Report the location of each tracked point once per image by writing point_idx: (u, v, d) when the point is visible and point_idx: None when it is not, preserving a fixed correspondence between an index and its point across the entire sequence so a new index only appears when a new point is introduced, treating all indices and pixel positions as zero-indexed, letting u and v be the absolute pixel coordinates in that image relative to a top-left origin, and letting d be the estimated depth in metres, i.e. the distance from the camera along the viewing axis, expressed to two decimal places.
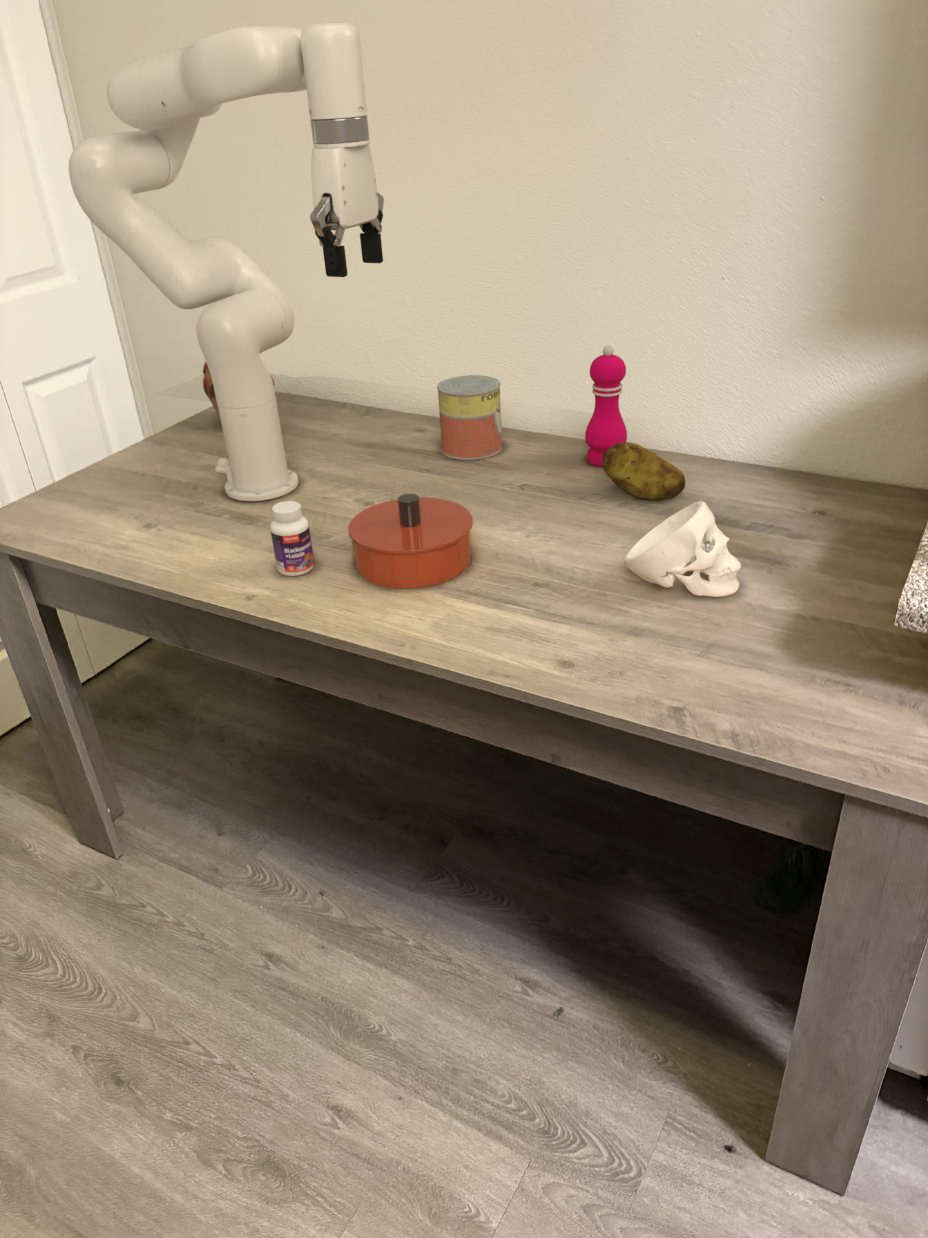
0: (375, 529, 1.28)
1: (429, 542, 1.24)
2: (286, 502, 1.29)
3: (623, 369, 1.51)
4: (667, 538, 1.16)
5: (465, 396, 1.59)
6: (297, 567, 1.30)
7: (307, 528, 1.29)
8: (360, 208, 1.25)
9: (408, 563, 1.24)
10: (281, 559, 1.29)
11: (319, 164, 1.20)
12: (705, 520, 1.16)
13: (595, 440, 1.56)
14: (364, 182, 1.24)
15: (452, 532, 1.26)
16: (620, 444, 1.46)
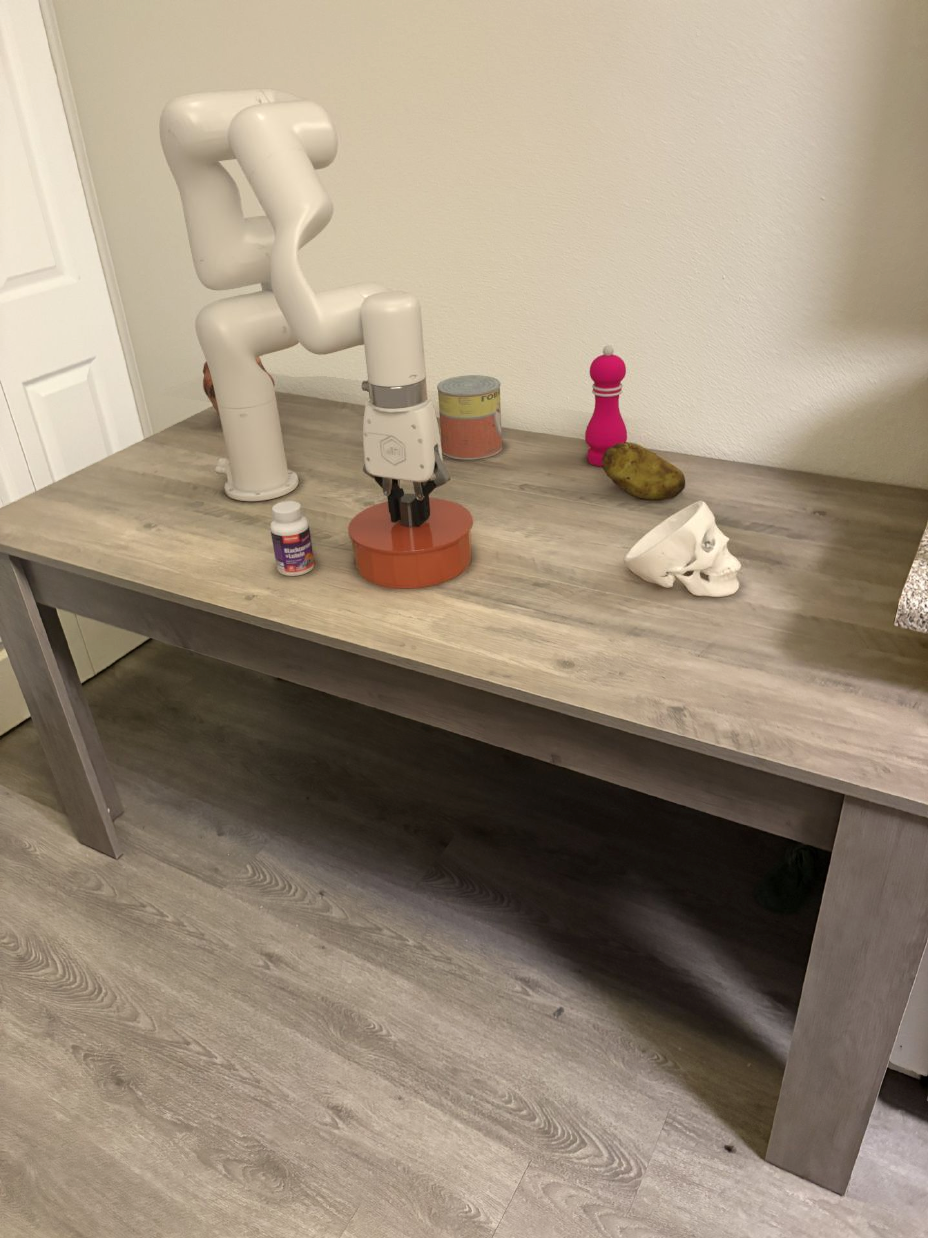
0: (375, 529, 1.28)
1: (429, 542, 1.24)
2: (286, 502, 1.29)
3: (623, 369, 1.51)
4: (667, 538, 1.16)
5: (465, 396, 1.59)
6: (297, 567, 1.30)
7: (307, 528, 1.29)
8: None
9: (408, 563, 1.24)
10: (281, 559, 1.29)
11: (430, 421, 1.19)
12: (705, 520, 1.16)
13: (595, 440, 1.56)
14: None
15: (452, 532, 1.26)
16: (620, 444, 1.46)
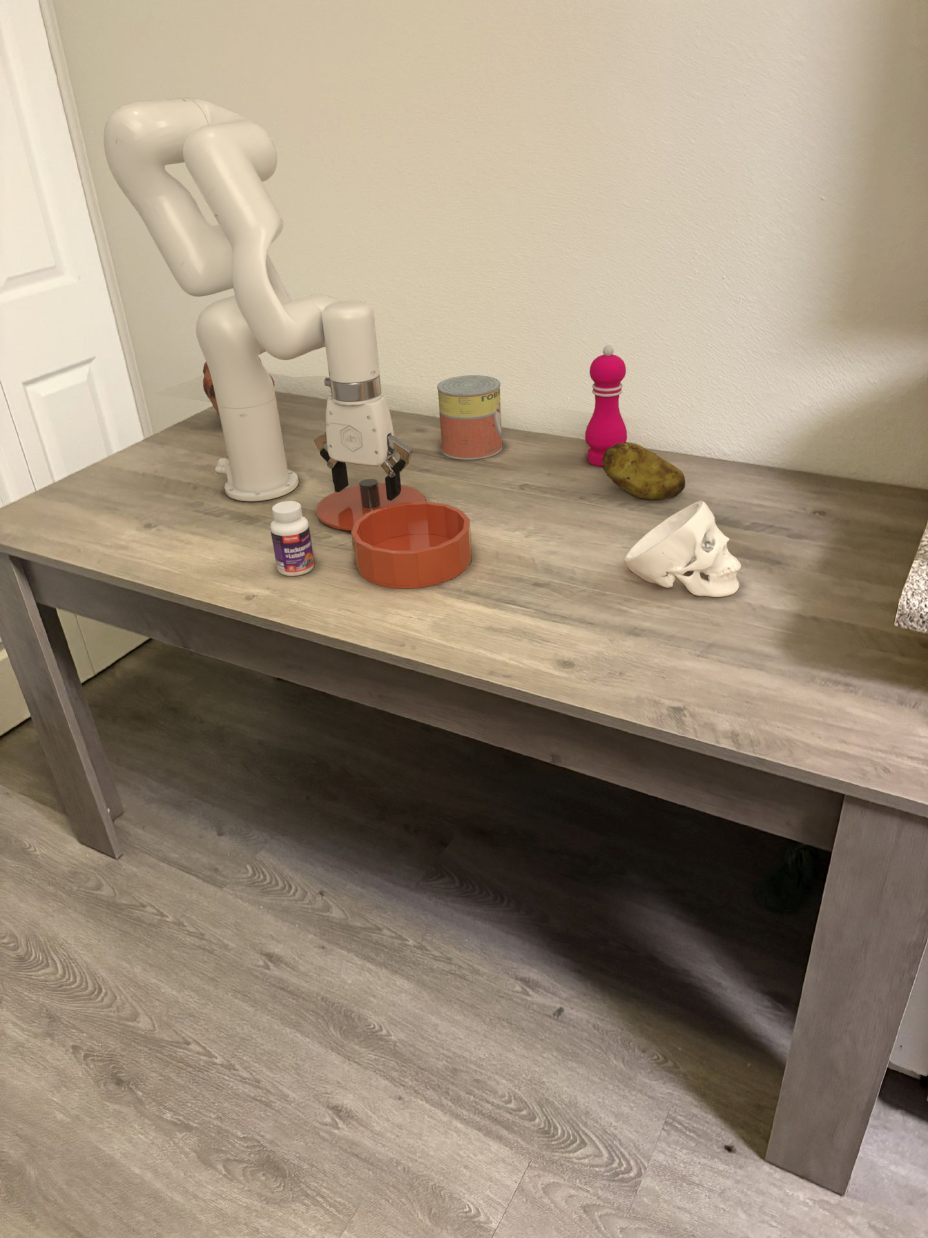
0: (340, 510, 1.47)
1: None
2: (286, 502, 1.29)
3: (623, 369, 1.51)
4: (667, 538, 1.16)
5: (465, 396, 1.59)
6: (297, 567, 1.30)
7: (307, 528, 1.29)
8: None
9: (408, 563, 1.24)
10: (281, 559, 1.29)
11: (383, 413, 1.37)
12: (705, 520, 1.16)
13: (595, 440, 1.56)
14: None
15: None
16: (620, 444, 1.46)
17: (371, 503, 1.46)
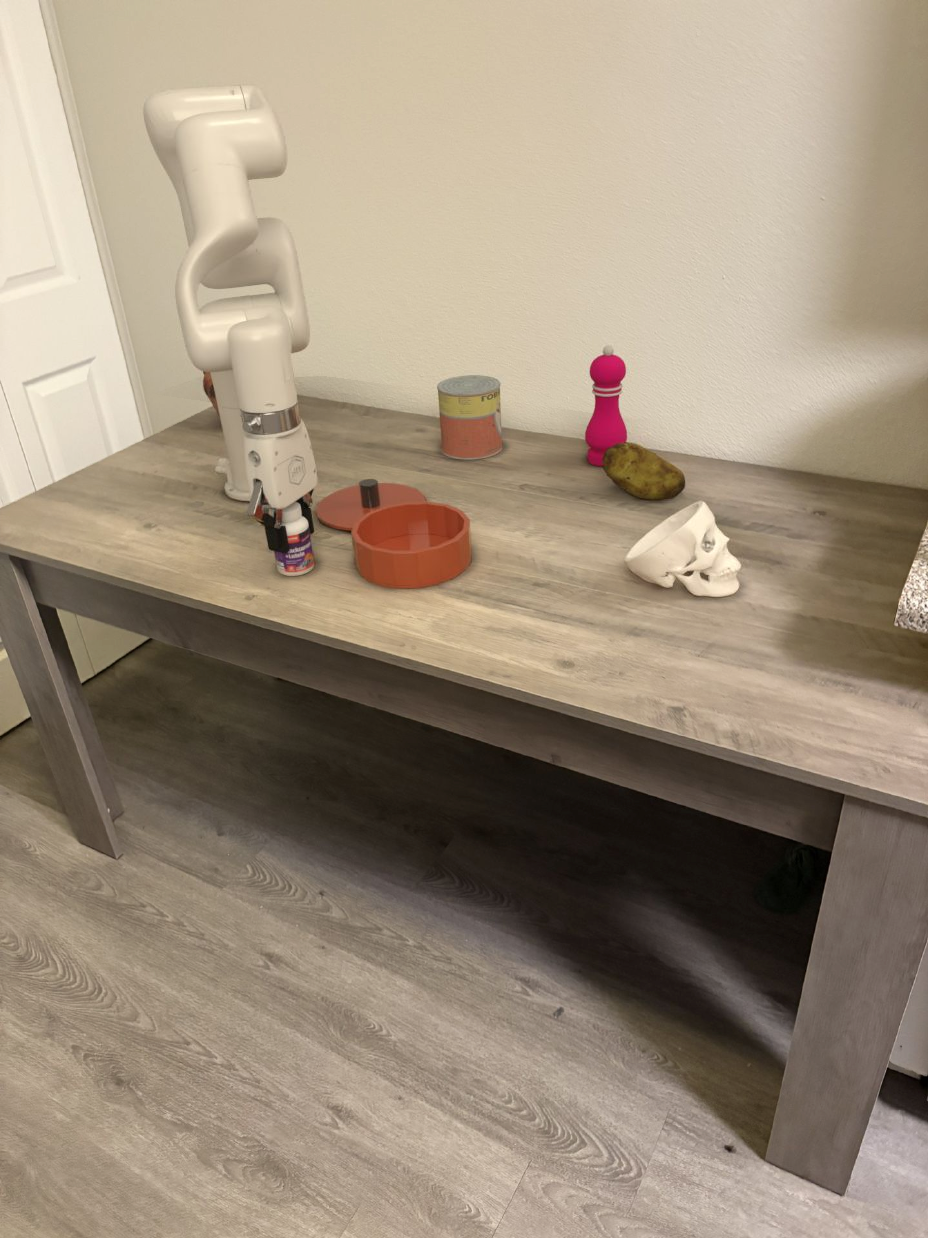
0: (340, 510, 1.47)
1: None
2: None
3: (623, 369, 1.51)
4: (667, 538, 1.16)
5: (465, 396, 1.59)
6: (297, 567, 1.30)
7: (307, 528, 1.29)
8: None
9: (408, 563, 1.24)
10: (281, 559, 1.29)
11: None
12: (705, 520, 1.16)
13: (595, 440, 1.56)
14: None
15: None
16: (620, 444, 1.46)
17: (371, 503, 1.46)
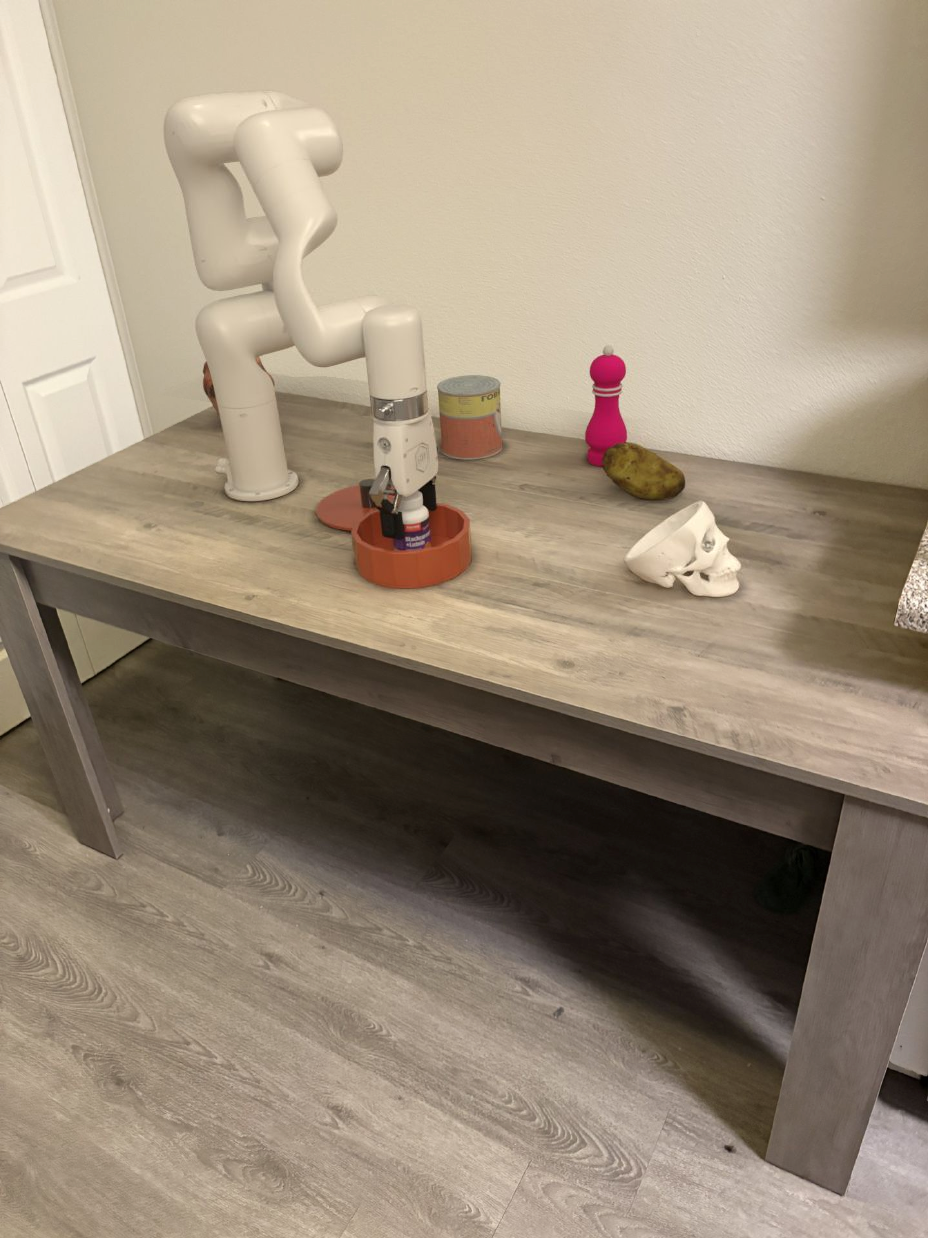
0: (340, 510, 1.47)
1: None
2: None
3: (623, 369, 1.51)
4: (667, 538, 1.16)
5: (465, 396, 1.59)
6: None
7: (428, 516, 1.29)
8: None
9: (408, 563, 1.24)
10: (401, 548, 1.29)
11: None
12: (705, 520, 1.16)
13: (595, 440, 1.56)
14: None
15: None
16: (620, 444, 1.46)
17: (371, 503, 1.46)
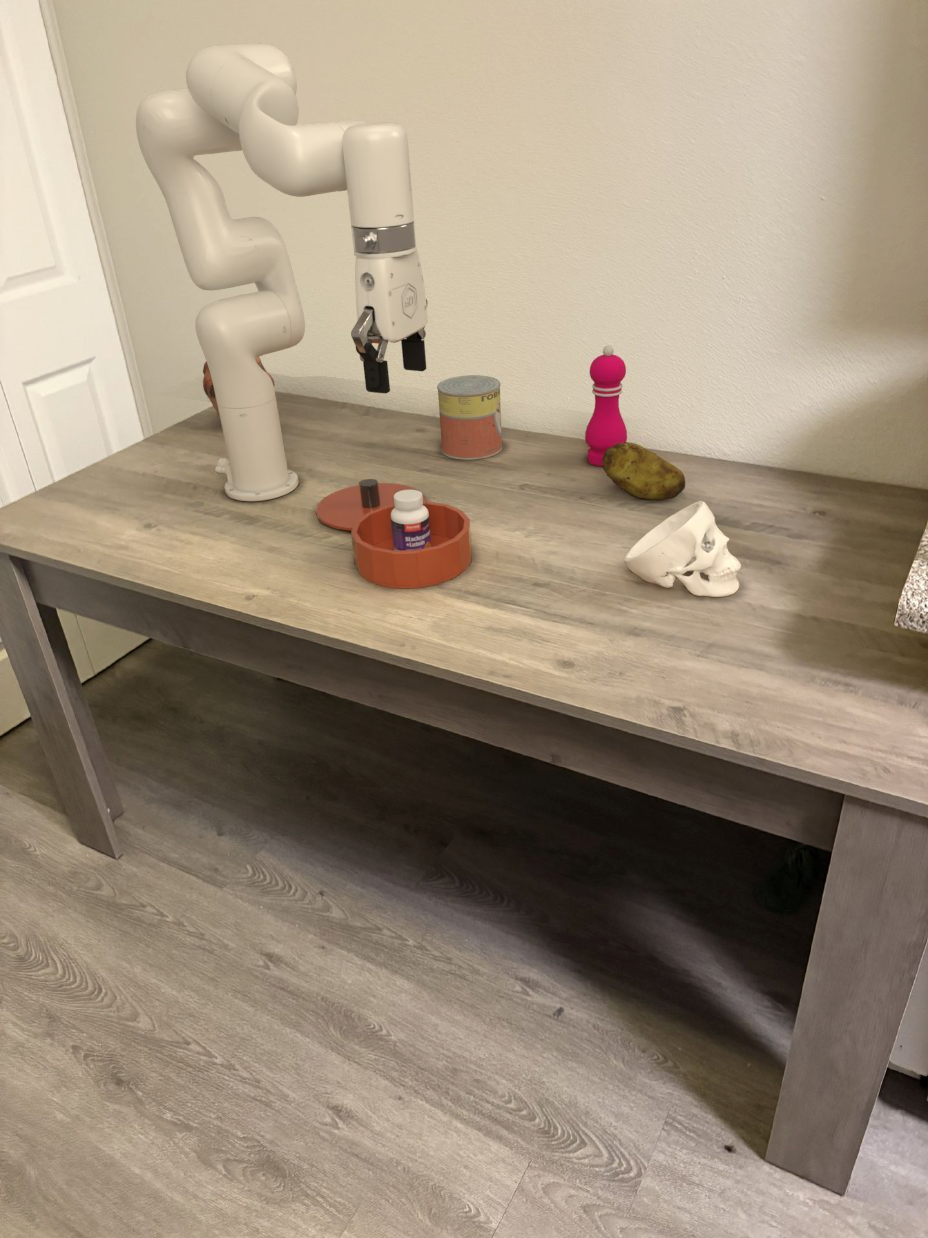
0: (340, 510, 1.47)
1: None
2: (406, 490, 1.29)
3: (623, 369, 1.51)
4: (667, 538, 1.16)
5: (465, 396, 1.59)
6: None
7: (428, 516, 1.29)
8: None
9: (408, 563, 1.24)
10: (401, 548, 1.29)
11: None
12: (705, 520, 1.16)
13: (595, 440, 1.56)
14: None
15: None
16: (620, 444, 1.46)
17: (371, 503, 1.46)
